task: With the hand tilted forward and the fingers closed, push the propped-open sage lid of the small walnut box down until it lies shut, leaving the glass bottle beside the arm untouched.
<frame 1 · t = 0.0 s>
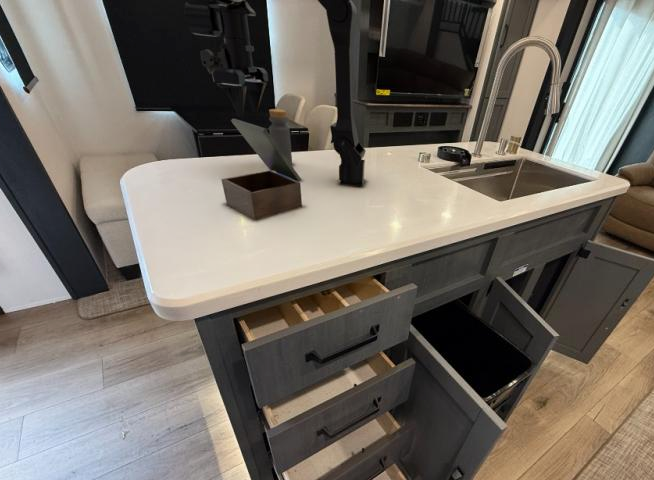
hand: (248, 114, 85), 15 cm above the table, tool pointing down, fingers open, 9 cm apart
bottle: (282, 165, 102), on the table
smartphone: (270, 180, 89), on the table
box: (265, 205, 75), on the table
lid: (267, 151, 69), point 12 cm above the table, hinge at 55.0°
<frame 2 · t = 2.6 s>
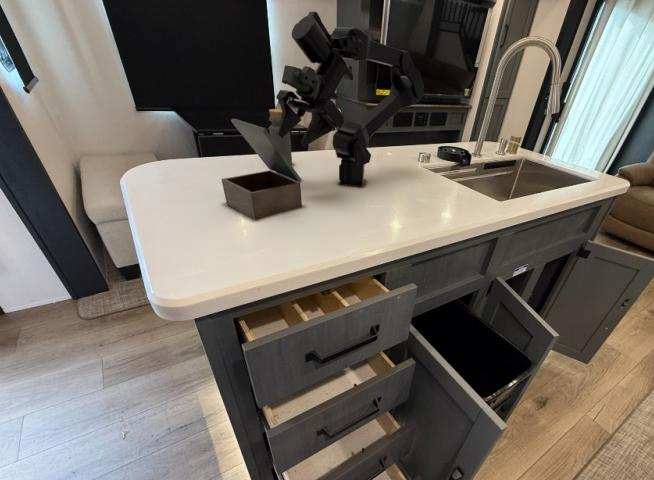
hand: (290, 140, 74), 13 cm above the table, tool tilted 40°, fingers open, 9 cm apart
nothing on the table moved.
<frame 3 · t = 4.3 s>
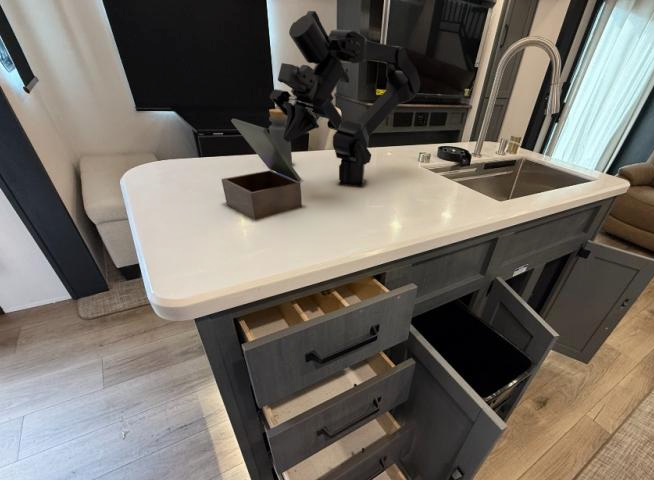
hand: (285, 140, 71), 13 cm above the table, tool tilted 45°, fingers closed
nothing on the table moved.
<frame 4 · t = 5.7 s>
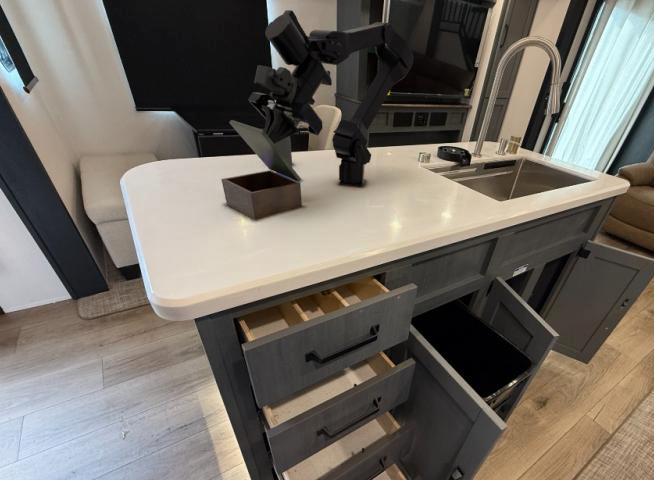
hand: (264, 146, 68), 13 cm above the table, tool tilted 45°, fingers closed, pressing on lid
lid: (266, 152, 69), point 11 cm above the table, hinge at 52.7°, touching gripper
everything else where it was.
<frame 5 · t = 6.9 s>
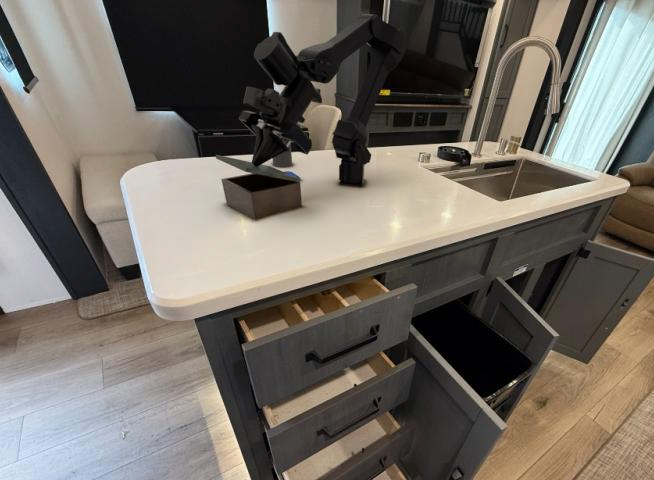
hand: (254, 164, 68), 9 cm above the table, tool tilted 45°, fingers closed
lid: (259, 168, 70), point 8 cm above the table, hinge at 18.4°
everything else where it was.
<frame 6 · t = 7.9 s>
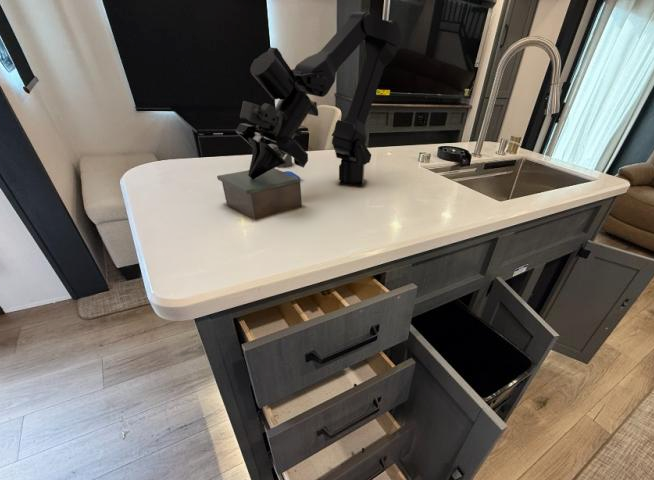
hand: (250, 177, 69), 7 cm above the table, tool tilted 45°, fingers closed, pressing on lid
lid: (259, 179, 71), point 6 cm above the table, hinge at -0.2°, touching box, gripper
everything else where it was.
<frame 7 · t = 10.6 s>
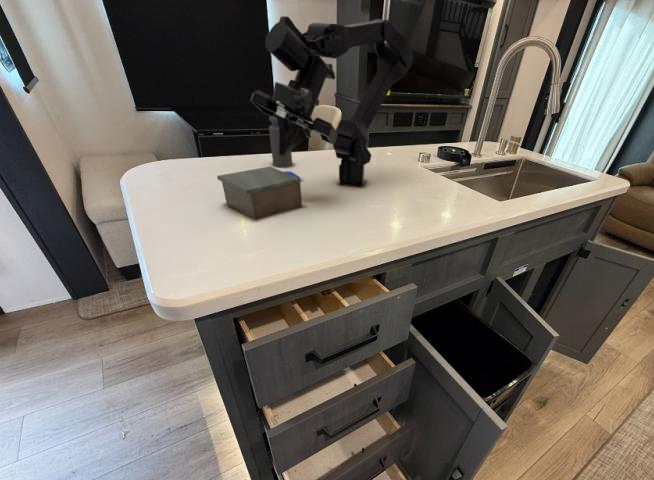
hand: (281, 155, 72), 10 cm above the table, tool tilted 35°, fingers closed
lid: (259, 179, 71), point 6 cm above the table, hinge at -0.2°, touching box
everything else where it was.
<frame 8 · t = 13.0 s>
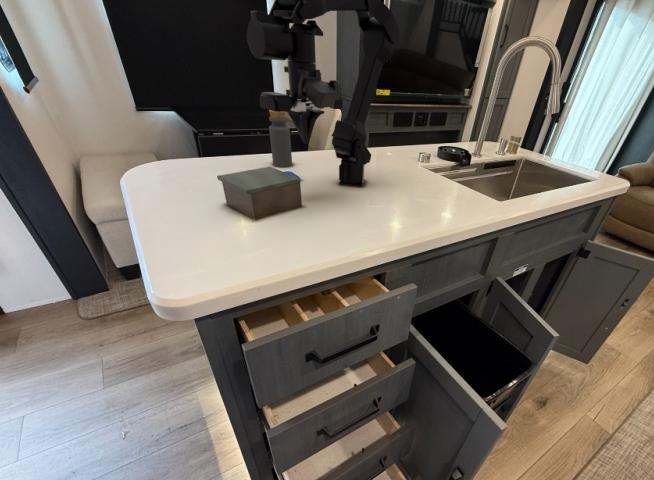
hand: (306, 143, 76), 12 cm above the table, tool pointing down, fingers closed
nothing on the table moved.
at the end: lid at +0° (first picture: +55°); bottle moved 0.2 cm from its start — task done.
